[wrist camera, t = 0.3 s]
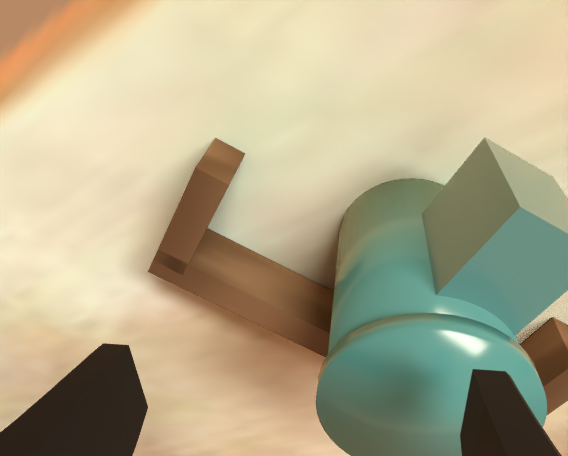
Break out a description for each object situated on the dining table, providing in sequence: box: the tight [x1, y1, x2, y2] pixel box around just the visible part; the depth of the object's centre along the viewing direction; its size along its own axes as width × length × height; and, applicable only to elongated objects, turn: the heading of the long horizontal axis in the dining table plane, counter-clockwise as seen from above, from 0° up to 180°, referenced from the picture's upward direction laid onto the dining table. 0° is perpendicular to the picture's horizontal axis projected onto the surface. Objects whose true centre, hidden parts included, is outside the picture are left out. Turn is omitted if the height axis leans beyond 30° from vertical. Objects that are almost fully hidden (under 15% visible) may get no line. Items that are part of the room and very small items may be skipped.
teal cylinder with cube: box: [316, 138, 568, 456], centre depth 15 cm, size 6×8×8 cm
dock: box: [148, 138, 568, 416], centre depth 20 cm, size 16×5×2 cm, turn 62°
